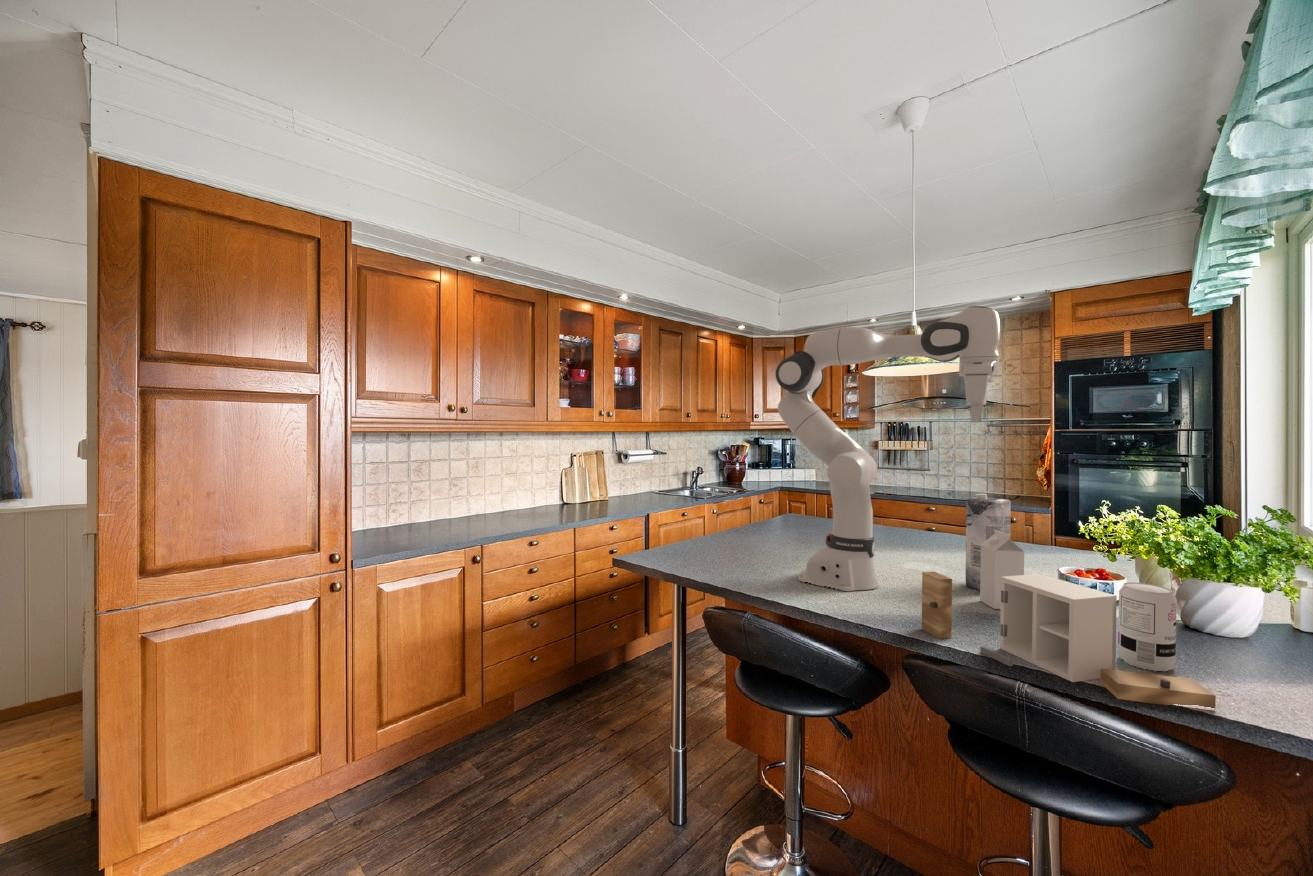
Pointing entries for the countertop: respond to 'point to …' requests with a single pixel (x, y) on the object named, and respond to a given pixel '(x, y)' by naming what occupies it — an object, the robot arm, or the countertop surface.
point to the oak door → (937, 604)
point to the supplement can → (1147, 626)
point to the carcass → (1057, 626)
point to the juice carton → (983, 530)
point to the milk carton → (998, 566)
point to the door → (1156, 688)
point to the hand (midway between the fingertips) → (976, 422)
